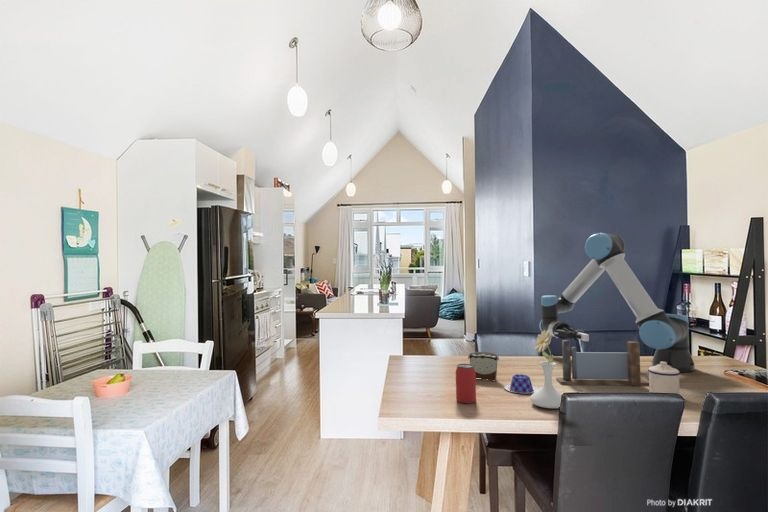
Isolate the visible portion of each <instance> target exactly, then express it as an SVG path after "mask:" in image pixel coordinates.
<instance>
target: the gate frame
mask: <svg viewBox="0 0 768 512" xmlns="http://www.w3.org/2000/svg"><path fill="white" fill-rule="evenodd" d="M561 344H562V345H561V347H562V377H556V379H555V380H556V381H557V382H558V383H559V385H561V384H566V385H567V386H569V385H570V386H571V385H572V386H574V385H576V386H579V385H580V386H581V385H582V386H631V385H635V386H634V387H641V385H649V382H648V380H646V379H645V378H641V356H640V355H641V352H640V351H641V350H640V349H641V348H640V345H641V344H640V342H639V341H633V340H632V341H631V340H630V341H629V340H627V342H626V345H627V347H626V348H627V349H626V350H627V354H628V380H612V379H572V356H571V340H570V339H569V340H568V339H561Z"/></svg>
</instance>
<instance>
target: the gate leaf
mask: <svg viewBox="0 0 768 512" xmlns="http://www.w3.org/2000/svg"><path fill="white" fill-rule="evenodd" d="M571 378H572V379H612V380H628V354H627V352H620V351H619V352H617V351H616V352H613V351H612V352H611V351H610V352H609V351H607V352H605V351H604V352H602V351H600V352H599V351H595V352H594V351H579V352H578V351H577V347H576V346H572V347H571Z"/></svg>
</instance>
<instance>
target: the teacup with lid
mask: <svg viewBox="0 0 768 512" xmlns="http://www.w3.org/2000/svg"><path fill="white" fill-rule="evenodd" d="M680 374H681V372H679V371H678V370H677V369H675V368H672V367H671V366H669V365H667V363H666V362H660V364H658V365H656V366H652V365H651V366H649V367H648V369H647V372H646V379H647V380H646V381H648V382H649V386H648V389H649V392H662V393H678V394H680ZM680 395H681V394H680Z"/></svg>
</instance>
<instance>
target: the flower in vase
mask: <svg viewBox="0 0 768 512" xmlns="http://www.w3.org/2000/svg"><path fill="white" fill-rule="evenodd" d="M540 333H541V334H537V337H536V341H535V342H534V345H535V346H534V351H536V353H542V356H543V358H545V359H547V360H545V361H540V362H539V365H540V366H541V368H542V371H543V375H544V378H543V379H544V380H543V382H544V383H543V385H542V387H540V388H538V389H539V390H538V391H536V392H535V393H532V394H531V395H530V398H529V400H530V402H531V403H532V404H534V405H535V406H537V407H540V408H544V409H560V408H559V406H560V399H561V395H563V394H562V393H561V392H560V391H559V390H557V389H556V388H555V387H554V385H553V379H552V378H553V376H552V375H553V370H554V367H555V366H556V365H557V363H556V362H555V361H554V355H553V354H552V352H551V349H550V346H549V345H550V343H551V341H552V337H553V336H552V335H551V333H550V331H549V330H547V331H546V333H545V330H544V331H543V332H542V331H541V332H540ZM546 349H548V351H549V354H548V353H547V352H546V351H545V350H546Z"/></svg>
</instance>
